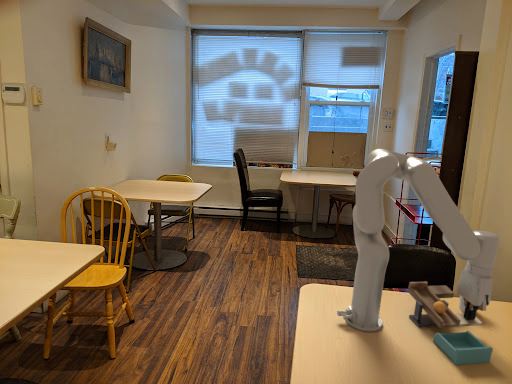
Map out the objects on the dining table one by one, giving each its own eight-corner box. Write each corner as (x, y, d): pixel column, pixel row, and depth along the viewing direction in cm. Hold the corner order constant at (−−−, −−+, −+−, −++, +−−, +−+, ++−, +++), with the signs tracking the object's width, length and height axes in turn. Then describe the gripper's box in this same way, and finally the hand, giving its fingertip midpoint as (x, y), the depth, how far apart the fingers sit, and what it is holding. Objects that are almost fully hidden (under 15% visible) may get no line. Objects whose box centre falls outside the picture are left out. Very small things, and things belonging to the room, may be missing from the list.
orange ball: (439, 312, 124) (435, 300, 126) (433, 315, 127) (429, 303, 129) (450, 311, 124) (446, 299, 126) (443, 314, 128) (439, 302, 130)
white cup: (480, 316, 138) (484, 299, 136) (460, 313, 139) (463, 296, 137) (473, 306, 144) (477, 290, 142) (454, 303, 145) (458, 287, 144)
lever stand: (418, 327, 129) (421, 307, 127) (408, 317, 134) (412, 298, 133) (449, 325, 131) (453, 306, 129) (438, 315, 136) (442, 297, 135)
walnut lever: (439, 327, 121) (442, 317, 120) (407, 291, 140) (409, 282, 139) (481, 325, 124) (484, 315, 123) (444, 289, 142) (447, 280, 141)
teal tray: (455, 364, 111) (458, 350, 110) (433, 341, 121) (435, 328, 120) (489, 362, 113) (492, 348, 111) (464, 339, 123) (467, 326, 122)
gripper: (453, 259, 127) (444, 307, 132) (486, 279, 113) (475, 332, 117) (473, 258, 129) (463, 306, 133) (507, 278, 114) (496, 331, 119)
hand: (469, 318), depth 125 cm, fingers closed
